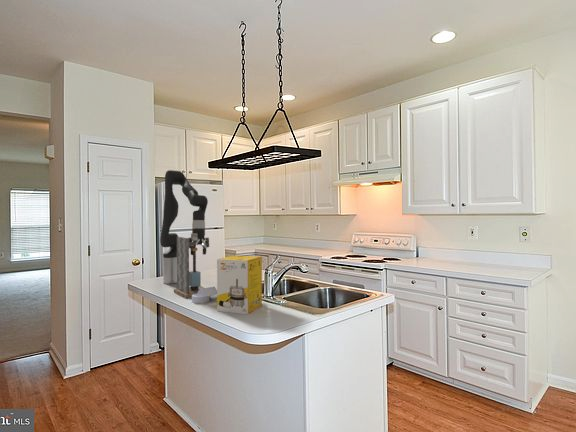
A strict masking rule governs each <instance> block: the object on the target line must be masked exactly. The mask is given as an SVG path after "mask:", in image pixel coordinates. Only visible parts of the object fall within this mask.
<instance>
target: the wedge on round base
mask: <svg viewBox="0 0 576 432" xmlns="http://www.w3.org/2000/svg"><path fill="white" fill-rule="evenodd" d="M210 296H217V287H216V286H211V287H210V286H209V287H204V288H202V289H200V290H199V291H198V292H197V294H193V295H192V298H191V303H192V304H205V303H208V302H210Z"/></svg>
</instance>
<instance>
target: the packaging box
mask: <svg viewBox="0 0 576 432" xmlns="http://www.w3.org/2000/svg"><path fill="white" fill-rule="evenodd" d="M262 258H263V257H262V256H261V255H258V256H256V255H255V256H254V255H237V254H236V255H235V254H234V255H230V256H225V257H221V258H218V259H216V290H217V294H216V296H217V299H216V306H217V307H216V310H217V312H224V313H233V314H242V315H249V314H251V313H252V312H253V311H256V310H257V309H258V308H260V307H262V305H263V296H262V295H263V292H262V291H263V284H262V283H263V282H262V281H263V279H262V278H263V277H262V275H263V273H262V270H263V268H262V267H263V266H262V265H263V264H262V263H263V260H262Z"/></svg>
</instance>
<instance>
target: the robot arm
mask: <svg viewBox="0 0 576 432" xmlns="http://www.w3.org/2000/svg"><path fill="white" fill-rule="evenodd" d="M174 185H175V186H177V185H179V186H181V192H182V193H183V194H184V196H185V197H186V198H187V199H188V202H189V204H190V205H191V206H192V207H196V208H197V207H198V209H197V210H193V211H192V224H191V225H192V227H191V228H192V230H191V234H192V233H197V234H198V240H196V246H198V245H200V246H201V247H202V255H203V256H205V255H207V249H208V248H210V238H209V237H205V236H206V216H205V214H206V210H207V208H208V207H207V206H208V203H209V202H208V201H209V200H208V198H207V196H205V195H199V192H198V191H197V189H195V188H194V187H193V186H192V185H191V184H190V182H189V180H188V178H187V177H186V176H185V174H184V173H183V172H182V171H180V170H173V169H168V170H167V171H165V174H164V203H163V214H162V215H163V216H162V217H163V218H162V226H161V232H160V238H159V239H160V240H159V241H160V245H161V247H162V248H169V249H168V250H167V251H165V252H163V253H162V264H163V265H162V268H163V269H162V270H163V271H162V278H163V279H162V280H163V281H162V283H163V284H166V285H167V284H171V285H172V284H177V237H179V235H178V234H177V233H176V232H172V233H171V232H170V229H171V226H172V225H173V224H174V222H175V220H176V219H177V218H178V215H179V214H178V213H179V202H178V201H177V198H176V196H175V194H174V191H173V186H174ZM188 238H189V242H193V241H192V240H191V237H188ZM191 248H193V246H189V250H190V255H191V256H193V251H191Z"/></svg>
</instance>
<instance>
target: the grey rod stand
mask: <svg viewBox="0 0 576 432" xmlns="http://www.w3.org/2000/svg"><path fill="white" fill-rule="evenodd" d="M189 238H191V240H192V242H189ZM196 240H198V234H197V233H192V232H191V233H190V237H184V236H183V237H182V236H178V237H177V283H176V288H173V293H174V294H176V295H177V296H180V297H182V298H184V299H192V295H193V294H197V292H198V291H199V290H200V289H202V288H205V287H203V286H195V287H191V286H189V272H190V252H191V251H193V255H192V271H193V272H196V271H197V251H198V248H197V247H196V246H197V245H196ZM189 246H193V248H191V249H190V248H189Z"/></svg>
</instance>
